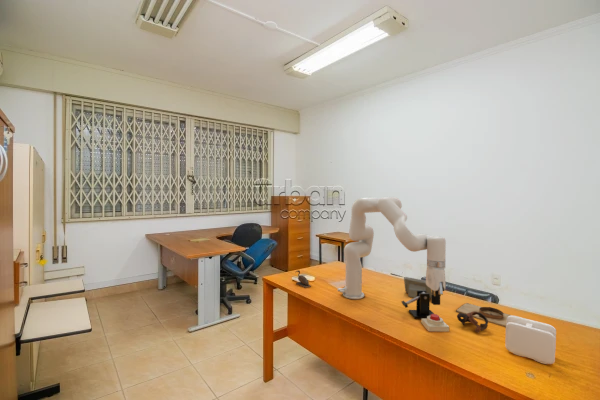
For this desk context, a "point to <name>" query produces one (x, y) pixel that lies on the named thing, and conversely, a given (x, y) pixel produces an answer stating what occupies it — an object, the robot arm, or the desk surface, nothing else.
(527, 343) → the cable organizer
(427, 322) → the control block
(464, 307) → the board
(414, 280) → the digital clock
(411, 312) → the bracket
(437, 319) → the button
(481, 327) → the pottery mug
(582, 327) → the desk surface
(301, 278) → the figurine
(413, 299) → the lever
